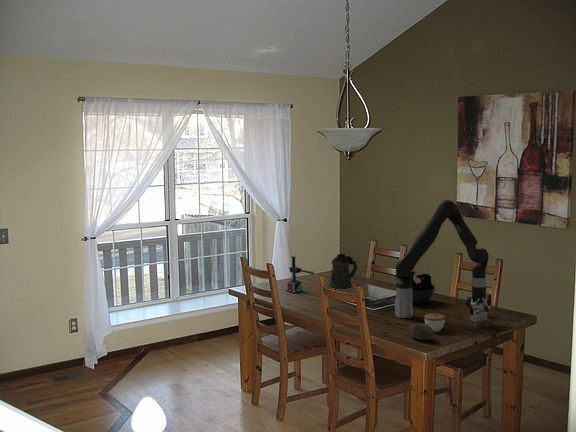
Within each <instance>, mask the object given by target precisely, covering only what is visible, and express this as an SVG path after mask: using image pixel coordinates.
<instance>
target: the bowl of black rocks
mask: <svg viewBox="0 0 576 432" xmlns="http://www.w3.org/2000/svg"><path fill="white" fill-rule="evenodd" d="M415 274H416V271H414V270H412V304H413V303H414V304H424V303H426V302H428V301H429V300H431V299H432V297H433V296H434V293H435V290H436V287H435V285H434V284H433V283H432V275H430V274H429V273H421V274H418V275H415ZM414 275H415V277H416V278H417V279H420V281H419V282H417V281H415V280H414ZM416 282H417V283H416Z"/></svg>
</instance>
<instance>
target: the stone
mask: <svg viewBox="0 0 576 432" xmlns="http://www.w3.org/2000/svg"><path fill="white" fill-rule="evenodd" d="M407 328H408V331H409V334H410V335H411V337H412V338H414V339H416V340H419V341H431V340H433V339H434V338H435V336H436V335H435V332H433V330H432V328H431V327H430V326H429V325H427V324H425V323H417V322H416V323H412V324H410V325H408V327H407Z"/></svg>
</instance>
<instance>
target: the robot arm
mask: <svg viewBox="0 0 576 432" xmlns="http://www.w3.org/2000/svg"><path fill="white" fill-rule="evenodd" d="M447 219H448V220H449V221H450V223H452V225H453V226H454V229H455V230H456V232H457V235H458V237H459V239H460V241H461V243H463V245H464V246H465V249H466V252H467V255H468V258H469V260H471V262H473V263H476V264H475V265H474V266H473V267H472V270H471V271H472V272H471V275H472V277H471V296H469V295H468V296H466V298H465V301H466V302H465V307H466V308H468V309H469V314H470V316H471V315H474V309H473V308H474V306H477V305H480V303H483V306H484V309H483V310H485V311H487V313H488V312H489V310H488V307H491V306H492V295H491V294H489V293H487V278H486V277H487V276H486V275H487V272H486V271H487V266H488V263H489V262H488V261H489V258H490V257H489V253H488V251H487V249H486V248H477V245H478V240H477V238H476V237H475V235H474V234H473V233H472V231H471V229H470V227H469V226H468V225H467V224H466V222H465V220H464V218H463V216H462V214H461V212H460V210H459V206H458V205H457V203H455V202H454V201H452V200H450V199H445V200H443V201H442V200H441V202H440V203H439V205H438V206H437V208H436V210H434V213H433V214H432V216H431V217H430V219H429V221H427V223H426V224H425V226H424V227H423V228H422V229H421V231H420V232H419V234H417V236H416V238H415V239H414V241H413V243H412V245H411V246H410V249H409V251H408V252H407V254H406V255H405V256H404V257H403V258H401V259H399V260H398V261H397V262H396V264H395V293H396V294H395V295H396V299H394V315H395V316H396V317H397V318H399V319H409V318H413V313H414V312H413V302H412V272H413V271H414V269H415V267H416V265H417V264H418V262H419V260H420V259H421V258H422V257H423V256H424V255H425V253H426V252H428V250H429V249H430V248H431V246H432V245H433V244H434V242H435V241H436V239H437V237H438V235H439V232H440V230H441V227H442V225H444V222H445V221H446V220H447Z"/></svg>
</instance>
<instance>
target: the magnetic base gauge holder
mask: <svg viewBox="0 0 576 432" xmlns="http://www.w3.org/2000/svg"><path fill="white" fill-rule="evenodd" d="M290 258H291V265H292V266H288V269H289V272H290V273H292V280H289V281H287V285H286V286H287V290H285V292H287V293H290V294H298V293H303V292H304V290H303V289H302V288H303V287H302V284H303V283H302V281H300V280H298V279H297V275H296V274H299V273H305V274H306V273H307V274H310V275H314V274H315V271H309V270H305V269H302V268H301V267H298V266H296V258H297V257H296V256H293V255H292V256H290ZM289 290H291V291H289ZM298 290H299V291H298ZM293 291H295V292H293Z"/></svg>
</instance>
